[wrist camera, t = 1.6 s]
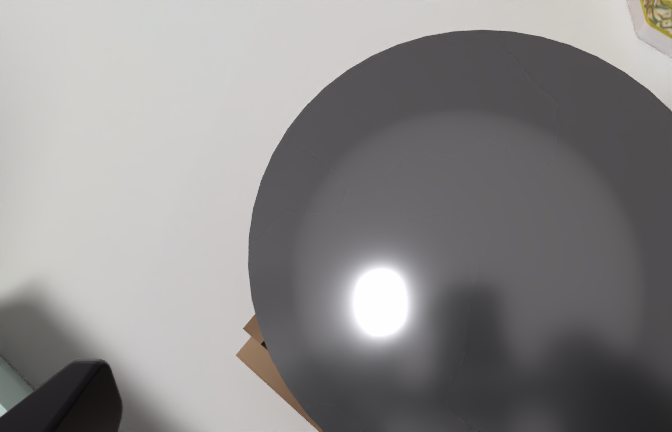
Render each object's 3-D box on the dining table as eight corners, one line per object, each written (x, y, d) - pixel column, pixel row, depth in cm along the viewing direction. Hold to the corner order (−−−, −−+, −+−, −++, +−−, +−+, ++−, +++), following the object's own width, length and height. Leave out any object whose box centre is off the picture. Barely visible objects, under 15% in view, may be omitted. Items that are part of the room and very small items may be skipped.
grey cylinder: (528, 323, 16) (920, 203, 4) (425, 457, 15) (559, 736, 4) (399, 222, 17) (433, -102, 5) (297, 344, 16) (82, 282, 5)
